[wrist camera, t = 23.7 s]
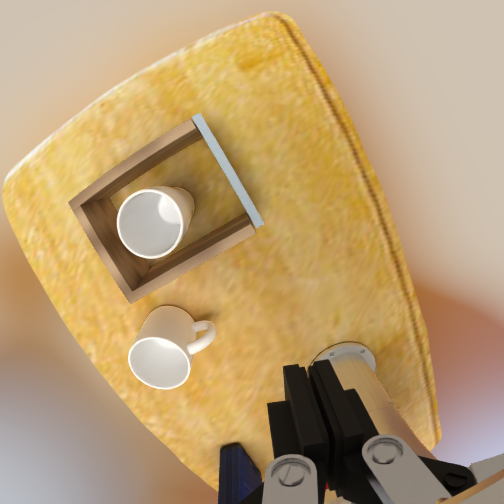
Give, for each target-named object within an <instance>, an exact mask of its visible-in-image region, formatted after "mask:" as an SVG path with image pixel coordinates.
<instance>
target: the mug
mask: <svg viewBox="0 0 504 504" xmlns="http://www.w3.org/2000/svg"><path fill="white" fill-rule="evenodd" d="M201 330H207V332H206V333H205V334H204V335H203V336H202V337H201V338H199V339H197V340H196V336H197V332H198V331H201ZM216 333H217V327H216V325H215V324H214V323H213V322H211V321H208V320H203V321H197V322H194V320H193V319H192V317H191V316H190V315H189V314H188V313H187V312H186V311H184V310H182V309H180V308H178V307H175V306H161V307H158V308H156V309H154V310H153V311H152V312H151V313H150V314H149V315H148V317H147V318H146V320H145V322H144V323H143V325H142V327H141V329H140V331H139V333H138V335H137V337H136V339H135V341H134V343H133V345H132V347H131V349H130V351H129V354H128V362H129V366H130V368H131V370H132V372H133V373H134V375H135V376H136V377H137V378H138V379H139V380H140V381H142V382H143V383H145V384H146V385H149V386H151V387H154V388H158V389H172V388H175V387H178V386H180V385H181V384H183V383H184V382H185V381H186V380H187V378H188V377H189V374H190V370H191V364H192V359H193V354H194V353H197V352H199V351H201V350H202V349H204V348H205V347H207V346H208V345H209V344H210V343H211V342H212V341H213V339H214V338H215V336H216Z"/></svg>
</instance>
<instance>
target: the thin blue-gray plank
mask: <svg viewBox="0 0 504 504" xmlns="http://www.w3.org/2000/svg"><path fill="white" fill-rule="evenodd" d="M192 119H193V120H194V122H195V124H196V125H197V127H198V129H199V130H200V132H201V134H202V135H203V137H204V139H205V141H206V142H207V144H208V146H209V147H210V149H211V151H212V152H213V154H214V156H215V158H216V159H217V161H218V163H219V164H220V166H221V168H222V170H223V171H224V173H225V175H226V176H227V178H228V180H229V182H230V183H231V185H232V187H233V188H234V190H235V192H236V194H237V195H238V197H239V199H240V200H241V202H242V204H243V206H244V207H245V209H246V211H247V213H248V214H249V216H250V218H251V220H252V221H253V223H254V225H255V227H256V228H258V227H259V226H261V225H263V224H264V222H263V220H262V218H261V217H260V215H259V213H258V211H257V210H256V208H255V206H254V204H253V203H252V201H251V199H250V197H249V196H248V194H247V192H246V190H245V189H244V187H243V185H242V183H241V182H240V180H239V178H238V176H237V175H236V173H235V171H234V170H233V168H232V166H231V164H230V163H229V161H228V159H227V158H226V156H225V154H224V152H223V151H222V149H221V147H220V146H219V144H218V142H217V140H216V139H215V137H214V135H213V134H212V132H211V130H210V129H209V127H208V125H207V124H206V122H205V120H204V119H203V117H202V115H201V114H200V113H198V114H196V115H194V116H193V117H192Z"/></svg>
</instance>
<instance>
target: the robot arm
mask: <svg viewBox="0 0 504 504" xmlns="http://www.w3.org/2000/svg"><path fill="white" fill-rule="evenodd" d="M375 369H376V361H375V357H374V356H373V354H372V352H371V351H370V350H369V349H368V348H367V347H366V346H364V345H362V344H359V343H354V342H347V343H340V344H337V345H334V346H332V347H330V348H328V349H326V350H325V351H323V352H322V353H321V354H320V355H319V356H317V357H316V359H315V360H314V361H313V362H312V364H311V366H309V367H308V373H306V370H305V367H300V368H299V365H298V364H295V365H288V366H283V374H284V388H285V401H280V402H272V403H267V406H268V415H269V423H270V431H271V438H272V445H273V452H274V459H275V460H273V461H272V462H271V463H270V464H269V465H268V466H267V469H266V472H265V480H264V482H263V483H262V484H261V485H260V486H258V487H257V488H256V489H255V490H254V491H253V492H251V493H250V494H249V495H248V496H247V497H246V498H244V499H243V500H242V501H241V502H240V503H238V504H504V454H501V455H498V456H495V457H492V458H489V459H486V460H483V461H479V462H476V463H473V464H471V465H470V467H464V466H461V465H457V464H452V463H447V462H443V461H439V460H437V459H436V458H435V457H434V456H433V455H432V453H431V452H430V451H429V450H428V449H427V448H426V447H425V446H424V445H423V444H422V443H421V442H420V440H419V439H418V438H417V437H416V435H415V434H414V433H413V431H412V430H411V429H410V427H409V426H408V424H407V423H406V421H405V420H404V418H403V416H402V415H401V413H400V412H399V410H398V409H397V407H396V406H395V404H394V403H393V401H392V400H391V398H390V396H389V395H388V393H387V392H386V390H385V389H384V387H383V386H382V384H381V383H380V381H379V379H378V378H377V376H376V375H375ZM326 483H327V485H328V488H329V489H327V490H326Z"/></svg>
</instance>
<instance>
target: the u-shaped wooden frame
mask: <svg viewBox="0 0 504 504" xmlns="http://www.w3.org/2000/svg"><path fill="white" fill-rule="evenodd" d="M201 138H203V135H202V134H201V132H200V130H199V129H198V127H197V126H196V125H195V123H194V122H193V121H192V120H191V119H189V120H187V121H186V122H184V123H182V124H181V125H179V126H177V127H176V128H174V129H172V130H171V131H169V132H167V133H166V134H164V135H162V136H161V137H159V138H158V139H156V140H155V141H153V142H151V143H150V144H148V145H147V146H145V147H144V148H142V149H141V150H139V151H138V152H136V153H135V154H133V155H132V156H130V157H129V158H127V159H126V160H124V161H123V162H121V163H120V164H118V165H117V166H116V167H114V168H113V169H111V170H110V171H109V172H107V173H106V174H104V175H103V176H102V177H100V178H99V179H98V180H96V181H95V182H94V183H92V184H91V185H90V186H88V187H87V188H86V189H84V190H83V191H82V192H80V193H79V194H78V195H77V196H75V197H74V198H73V199H72V200H70V201H69V202H68V203H69V205H70V206H71V208H72V210H73V212H74V214H75V216H76V217H77V219H78V221H79V223H80V224H81V226H82V228H83V230H84V231H85V233H86V235H87V237H88V238H89V240H90V242H91V243H92V245H93V247H94V248H95V250H96V252H97V253H98V255H99V257H100V258H101V260H102V261H103V263H104V265H105V266H106V268H107V269H108V271H109V272H110V274H111V276H112V277H113V279H114V280H115V282H116V283H117V285H118V286H119V288H120V289H121V291H122V292H123V294H124V295H125V297H126V298H127V300H128V301H129V303H130V304H132V303H133V302H135V301H137V300H139V299H140V298H142V297H144V296H146V295H147V294H149V293H151V292H153V291H154V290H156V289H158V288H160V287H162V286H163V285H165V284H167V283H169V282H170V281H172V280H174V279H176V278H177V277H179V276H181V275H183V274H184V273H186V272H188V271H190V270H192V269H193V268H195V267H197V266H199V265H200V264H202V263H204V262H206V261H208V260H209V259H211V258H213V257H215V256H217V255H218V254H220V253H222V252H224V251H225V250H227V249H229V248H231V247H233V246H234V245H236V244H238V243H240V242H242V241H243V240H245V239H247V238H249V237H251V236H252V235H254V234H256V231H255V229H254V226H253V224H252V221H251V219H250V217H249V215H248V214H247V213H245V214H243V215H241V216H240V217H238V218H236V219H234V220H232V221H231V222H229V223H227V224H225V225H224V226H222V227H220V228H218V229H217V230H215V231H213V232H211V233H210V234H208V235H206V236H204V237H203V238H201V239H199V240H197V241H196V242H194V243H192V244H190V245H189V246H187V247H185V248H184V249H182V250H180V251H178V252H177V253H175V254H173V255H172V256H170V257H168V258H166V259H165V260H163V261H161V262H160V263H158V264H156V265H155V266H153V267H150V266H149V264H148V262H147V261H146V259H145V258H143V257H140V256H137V255H135V254H134V253H132V252H131V251H129V250H128V249H127V248H126V247H125V245H124V244H123V242H122V241H121V239H120V237H119V234H118V230H117V216H118V213H117V211H116V209H115V208H114V206H113V204H112V202H111V201H110V199H109V197H110V196H111V195H113V194H114V193H116V192H117V191H118V190H120V189H121V188H123V187H124V186H126V185H127V184H129V183H130V182H132V181H133V180H135V179H136V178H138V177H139V176H141V175H142V174H144V173H145V172H147V171H148V170H150V169H151V168H153V167H155V166H156V165H158V164H159V163H161V162H162V161H164V160H166V159H167V158H169V157H171V156H172V155H174V154H175V153H177V152H179V151H180V150H182V149H184V148H185V147H187V146H189V145H191V144H192V143H194V142H196V141H197V140H199V139H201Z"/></svg>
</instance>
